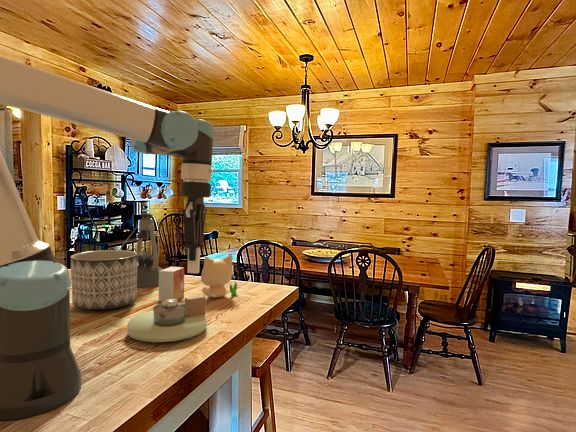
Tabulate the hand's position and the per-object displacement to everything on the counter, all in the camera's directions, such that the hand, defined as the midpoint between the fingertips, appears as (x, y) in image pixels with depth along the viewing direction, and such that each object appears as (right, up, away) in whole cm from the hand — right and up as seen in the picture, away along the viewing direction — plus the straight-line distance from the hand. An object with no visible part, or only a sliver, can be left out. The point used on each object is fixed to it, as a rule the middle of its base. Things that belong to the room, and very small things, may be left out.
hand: (193, 272), depth 96 cm
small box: (-16, -14, +32) cm, 39 cm away
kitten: (0, -14, +36) cm, 39 cm away
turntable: (-7, -16, +3) cm, 18 cm away
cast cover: (-7, -13, +1) cm, 15 cm away
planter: (-34, -14, +23) cm, 44 cm away
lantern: (-34, -13, +52) cm, 63 cm away
